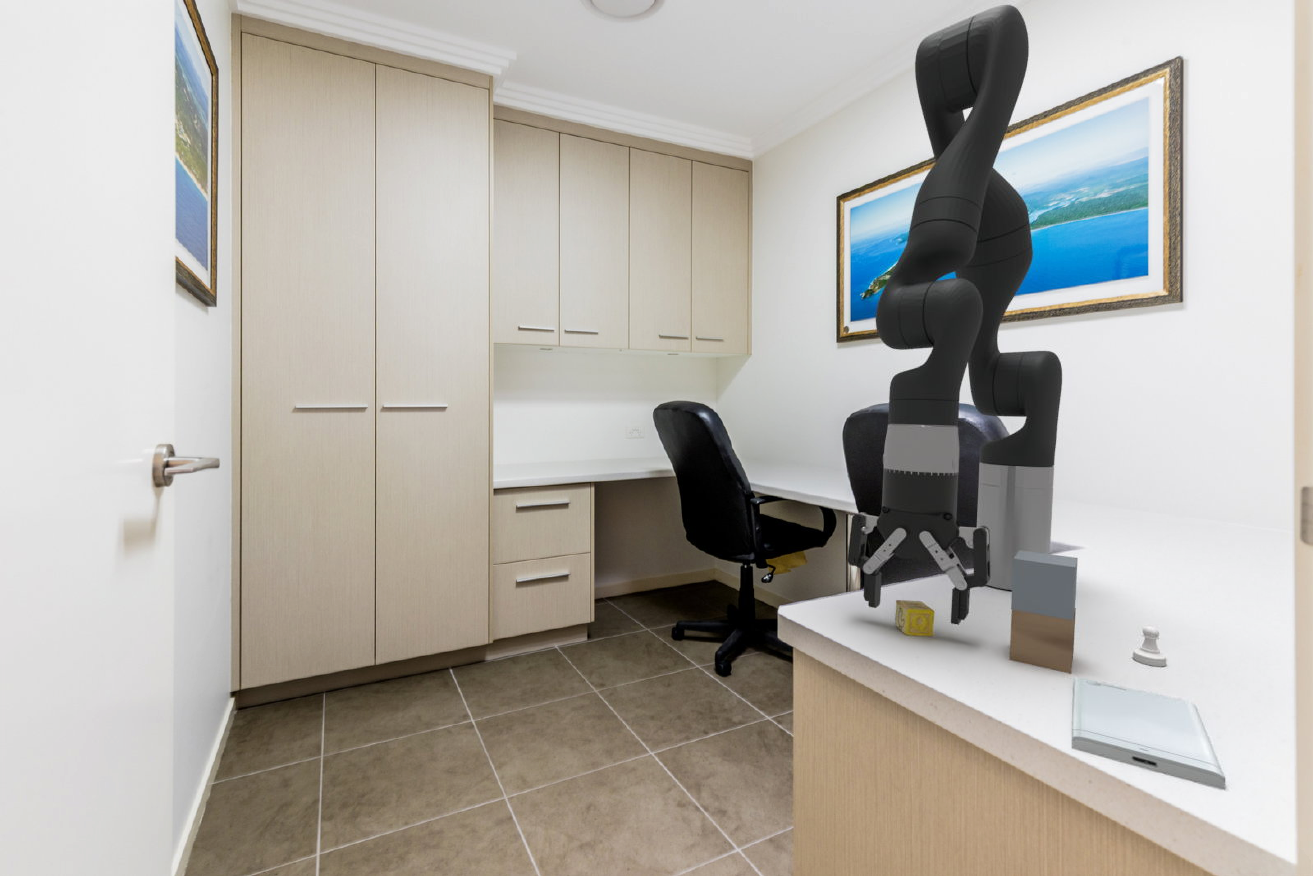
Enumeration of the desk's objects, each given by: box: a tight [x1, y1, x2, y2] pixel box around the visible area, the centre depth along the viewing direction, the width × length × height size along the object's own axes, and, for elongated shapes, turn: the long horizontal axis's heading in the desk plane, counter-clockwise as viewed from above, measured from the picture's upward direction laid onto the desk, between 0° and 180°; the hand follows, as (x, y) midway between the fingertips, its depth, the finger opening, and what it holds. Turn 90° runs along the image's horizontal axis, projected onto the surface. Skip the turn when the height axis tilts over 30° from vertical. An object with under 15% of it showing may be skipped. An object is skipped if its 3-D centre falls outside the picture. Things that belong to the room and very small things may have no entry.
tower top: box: [1010, 550, 1079, 621], centre depth 60 cm, size 5×5×5 cm
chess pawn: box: [1132, 625, 1167, 667], centre depth 60 cm, size 3×3×4 cm
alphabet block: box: [894, 599, 935, 637], centre depth 68 cm, size 3×3×3 cm
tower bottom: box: [1008, 607, 1077, 675], centre depth 60 cm, size 5×5×5 cm
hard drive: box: [1071, 677, 1226, 791], centre depth 47 cm, size 2×8×12 cm
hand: (913, 614), depth 67 cm, fingers open, 8 cm apart
